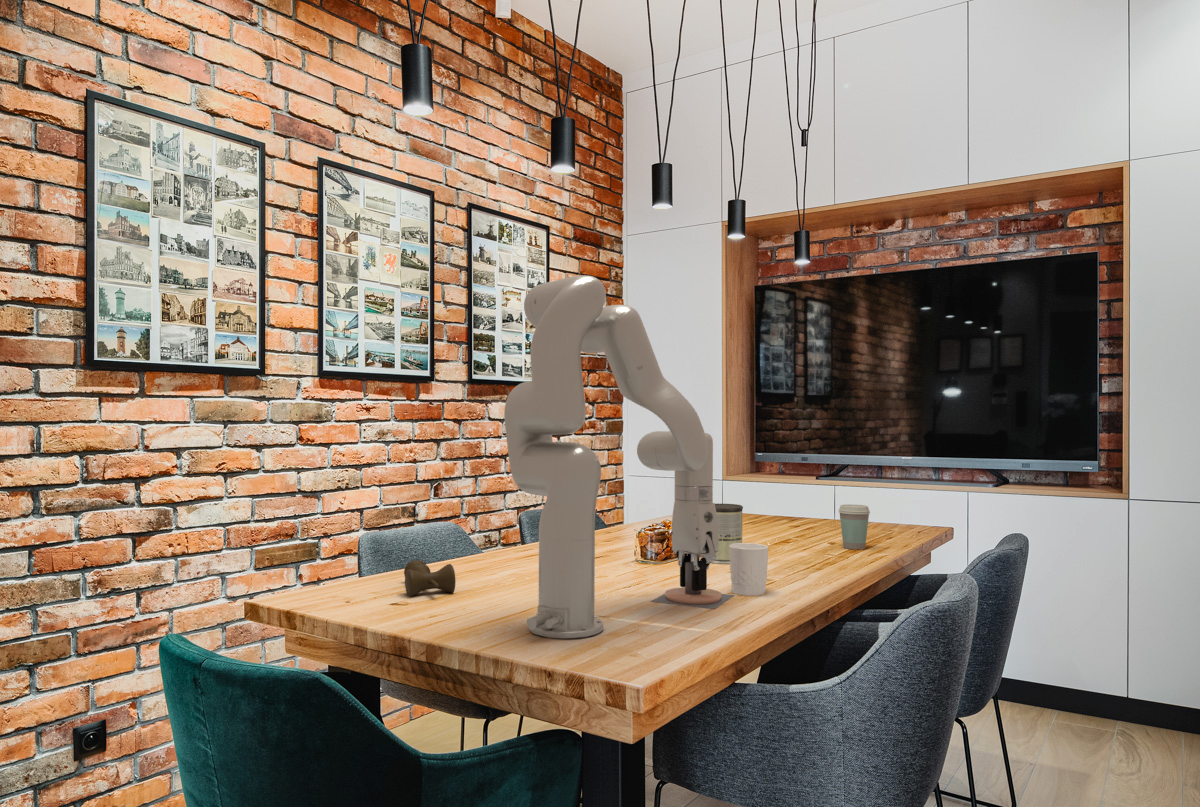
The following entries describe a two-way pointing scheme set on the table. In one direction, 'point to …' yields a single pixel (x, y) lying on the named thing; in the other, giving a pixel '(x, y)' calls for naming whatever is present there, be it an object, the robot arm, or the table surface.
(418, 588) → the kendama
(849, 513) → the coffee cup
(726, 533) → the coffee can
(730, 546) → the white cup
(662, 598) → the mat
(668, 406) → the robot arm
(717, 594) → the lid
